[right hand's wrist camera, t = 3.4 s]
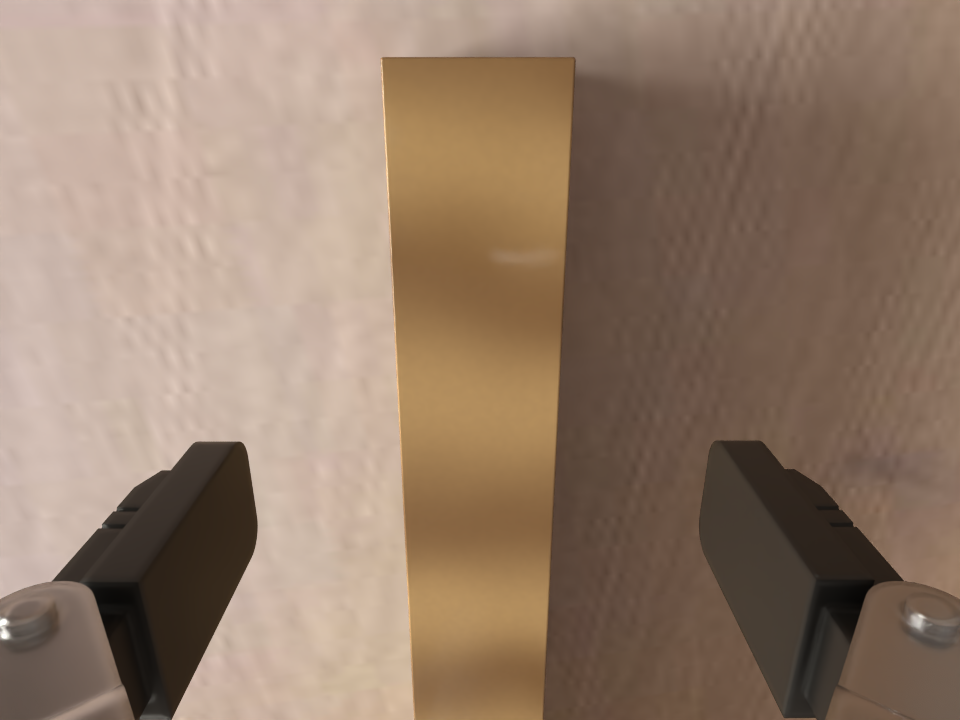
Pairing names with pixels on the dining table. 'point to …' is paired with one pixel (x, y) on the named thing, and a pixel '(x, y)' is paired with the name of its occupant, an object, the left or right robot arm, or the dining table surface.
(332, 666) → the dining table surface
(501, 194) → the post
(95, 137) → the dining table surface
